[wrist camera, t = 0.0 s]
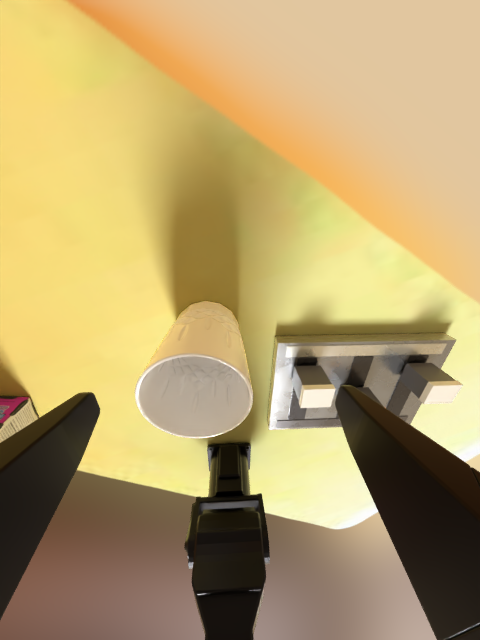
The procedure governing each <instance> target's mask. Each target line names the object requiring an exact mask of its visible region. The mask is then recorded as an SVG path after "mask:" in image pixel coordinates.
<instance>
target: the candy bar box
mask: <svg viewBox="0 0 480 640" xmlns="http://www.w3.org/2000/svg"><path fill="white" fill-rule="evenodd" d="M37 419H39V416H38V414H37V412H36V410H35V408H34V406H33V404H32V401H31V399H30V398H29V397H16V396H0V443H1V442H2V441H4V440H5V439H7V438H9V437H10V436H12V435H13V434H15V433H16V432H18V431H20V430H21V429H23V428H24V427H26V426H28V425H29V424H31V423H32V422H34V421H35V420H37Z"/></svg>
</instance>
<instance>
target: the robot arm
mask: <svg viewBox="0 0 480 640" xmlns="http://www.w3.org/2000/svg"><path fill="white" fill-rule="evenodd" d="M335 407H336V410H337V413H338V416H339V419H340V421H341V424H342V427H343V430H344V433H345V436H346V439H347V442H348V444H349V447H350V450H351V452H352V454H353V457H354V459H355V461H356V463H357V465H358V468H359V470H360V472H361V474H362V476H363V478H364V481H365V483H366V485H367V487H368V489H369V492H370V494H371V496H372V498H373V500H374V503H375V505H376V507H377V509H378V511H379V513H380V516H381V518H382V520H383V522H384V525H385V527H386V529H387V531H388V533H389V535H390V537H391V540H392V542H393V544H394V546H395V549H396V551H397V553H398V555H399V557H400V559H401V562H402V564H403V566H404V568H405V571H406V573H407V575H408V577H409V579H410V582H411V584H412V586H413V588H414V590H415V592H416V595H417V597H418V599H419V601H420V603H421V606H422V608H423V610H424V612H425V614H426V616H427V619H428V621H429V623H430V625H431V628H432V630H433V632H434V634H435V636H436V639H437V640H480V472H479V471H477V470H475V469H474V468H471V467H470V466H469V465H468V464H467V463H465V462H464V461H462V460H461V459H459V458H458V457H457V456H455V455H454V454H452V453H451V452H449V451H448V450H446V449H445V448H443V447H442V446H440V445H439V444H437V443H436V442H434V441H433V440H432V439H430V438H429V437H427V436H426V435H424V434H423V433H421V432H420V431H418V430H417V429H415V428H414V427H412V426H411V425H410V424H408V423H407V422H405V421H404V420H402V419H401V418H399V417H398V416H396V415H395V414H393V413H392V412H390V411H389V410H387V409H386V408H385V407H383V406H382V405H380V404H379V403H377V402H376V401H374V400H373V399H371V398H370V397H368V396H367V395H365V394H364V393H362V392H361V391H360V390H358V389H357V388H355V387H354V386H352V385H342V386H340V387H339V389H338V393H337V396H336V400H335ZM99 414H100V407H99V405H98V402H97V400H96V398H95V395H94V394H93V393H91V392H83V393H78V394H76V395H75V396H73V397H72V398H70V399H69V400H67V401H65V402H64V403H62V404H61V405H59V406H58V407H56V408H54V409H53V410H51V411H50V412H48V413H46V414H45V415H43V416H42V417H40V418H39V419H37V420H35V421H34V422H32V423H31V424H29V425H28V426H26V427H24V428H23V429H21V430H20V431H18V432H16V433H15V434H13V435H12V436H10V437H9V438H7V439H5V440H4V441H2V442H1V443H0V620H1V618H2V616H3V613H4V612H5V610H6V608H7V606H8V604H9V602H10V600H11V598H12V596H13V594H14V592H15V590H16V588H17V586H18V584H19V582H20V580H21V578H22V576H23V574H24V572H25V570H26V568H27V566H28V564H29V562H30V560H31V558H32V556H33V554H34V552H35V550H36V549H37V546H38V544H39V543H40V540H41V539H42V537H43V535H44V533H45V531H46V529H47V527H48V524H49V523H50V521H51V519H52V517H53V515H54V513H55V511H56V509H57V507H58V505H59V503H60V501H61V499H62V497H63V495H64V493H65V491H66V489H67V487H68V485H69V483H70V481H71V479H72V477H73V476H74V473H75V472H76V470H77V468H78V466H79V463H80V461H81V459H82V457H83V455H84V452H85V450H86V447H87V445H88V442H89V440H90V437H91V435H92V432H93V430H94V427H95V425H96V422H97V419H98V417H99ZM207 451H208V461H209V471H210V481H209V495H208V497H196V502H195V503H194V504H193V505H192V512H191V519H190V524H189V528H188V532H187V536H186V540H185V547H184V548H185V550H186V552H187V554H188V560H189V561H188V565H189V569H193V572H192V586H193V591H194V596H195V601H196V605H197V608H198V612H199V615H200V619H201V622H202V626H203V629H204V633H205V640H253V634H254V630H255V626H256V622H257V619H258V615H259V611H260V607H261V604H262V600H263V595H264V588H265V580H266V570H265V564H269V559H270V556H269V541H268V531H267V525H266V518H265V512H264V506H263V500H262V494H257V495H250V484H249V471H248V470H249V469H250V451H251V446H250V444H249V443H240V444H216V445H208V448H207Z"/></svg>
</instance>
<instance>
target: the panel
mask: <svg viewBox="0 0 480 640" xmlns="http://www.w3.org/2000/svg"><path fill="white" fill-rule="evenodd" d="M455 342H456V339H454V338H452V337H451V336H449V335H447V334H445V333H416V334H359V335H302V336H275V345H274V355H273V365H272V375H271V386H270V396H269V406H268V417H267V422H268V427H269V430H274V429H300V428H327V427H342V424H341V421H340V419H339V416H338V413H337V410H336V407H335V400H336V396H337V393H338V389H339V387H340V386H342V385H352V386H354V387H355V388H357V387H369V389H370V390H371V391H372V392H373V394H374V395H375V396H376V397H377V399H378V400H379V401H380V402H381V404H382V405H383V406H384V407H385V408H386V409H387V410H389V411H390V412H392V413H393V414H395V415H396V416H398V417H399V418H401V419H402V420H404V421H405V422H407V423H408V424H410V423H411V422H412V420H413V418H414V416H415V414H416V412H417V411H418V409H419V407H420V405H421V403H422V402H421V401H420V400H419V398H418V397H417V396H416V395H415V394H414V393H413V392H412V391H411V390H410V389H409V388H408V387H407V386H406V385H405V384H404V383H403V382H402V381H400V380H399V379H400V377H401V375H402V373H403V370H404V368H405V366H406V364H407V363H433V364H434V365H436V366H437V367H438V368H440V369H441V367H442V365H443V363H444V362H445V360H446V358H447V356H448V354H449V353H450V351H451V349H452V347H453V345H454V344H455ZM317 365H321V367H322V368H323V370H324V372H325V373H326V375H327V377H328V378H329V380H330V382H331V383H332V384H333V385H334V387H335V393H334V396H333V400H332V404H331V407H318V408H300V405H299V401H298V398H297V395H296V392H295V390H294V387H293V384H292V378H293V372H294V366H317Z"/></svg>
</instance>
